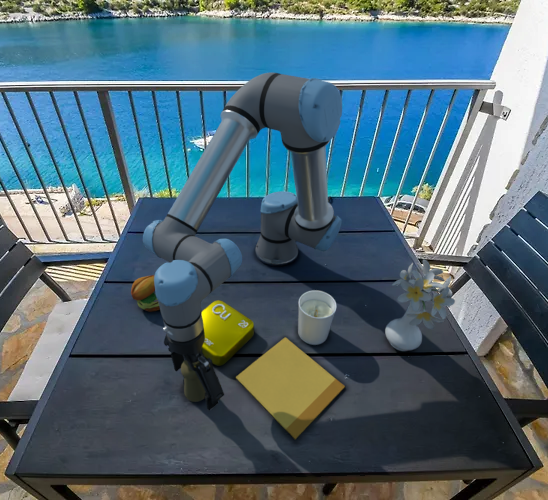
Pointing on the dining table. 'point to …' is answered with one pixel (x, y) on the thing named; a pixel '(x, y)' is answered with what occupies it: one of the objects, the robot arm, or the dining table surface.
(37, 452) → the dining table surface
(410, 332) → the flower vase
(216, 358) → the element tile
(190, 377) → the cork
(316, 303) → the candle holder
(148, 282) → the cheeseburger
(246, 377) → the towel
